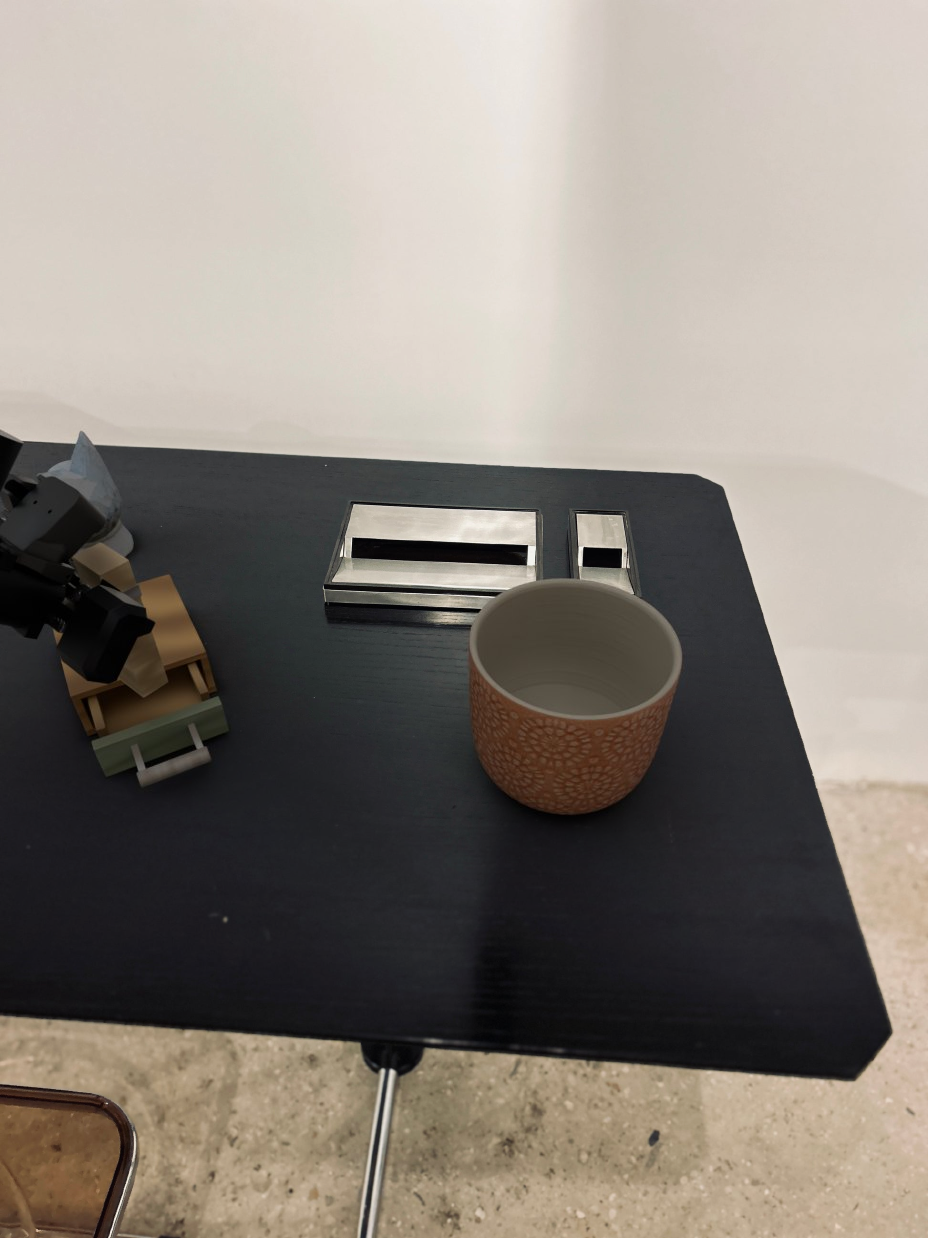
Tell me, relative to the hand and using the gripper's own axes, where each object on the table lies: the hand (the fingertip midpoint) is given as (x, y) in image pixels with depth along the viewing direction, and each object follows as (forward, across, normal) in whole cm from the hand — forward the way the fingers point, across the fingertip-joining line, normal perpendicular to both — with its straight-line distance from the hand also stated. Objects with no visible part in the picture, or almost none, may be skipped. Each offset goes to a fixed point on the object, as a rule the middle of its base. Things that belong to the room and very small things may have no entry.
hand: (137, 616), depth 67 cm
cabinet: (+11, +9, +8) cm, 17 cm away
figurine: (+18, +32, +2) cm, 36 cm away
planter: (+23, -32, -4) cm, 40 cm away
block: (+4, 0, +6) cm, 7 cm away
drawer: (+8, 0, +10) cm, 13 cm away
